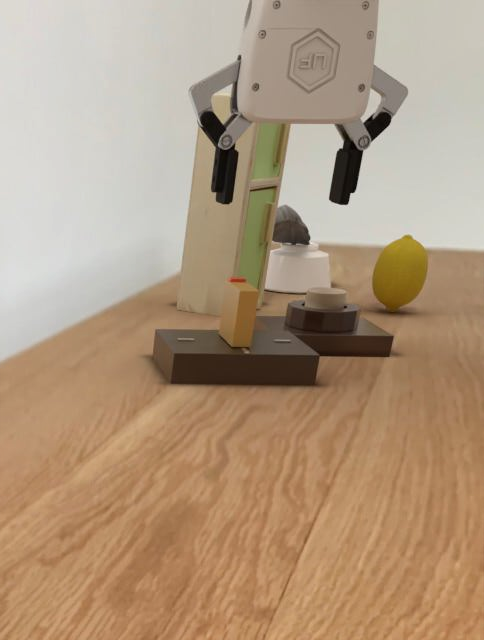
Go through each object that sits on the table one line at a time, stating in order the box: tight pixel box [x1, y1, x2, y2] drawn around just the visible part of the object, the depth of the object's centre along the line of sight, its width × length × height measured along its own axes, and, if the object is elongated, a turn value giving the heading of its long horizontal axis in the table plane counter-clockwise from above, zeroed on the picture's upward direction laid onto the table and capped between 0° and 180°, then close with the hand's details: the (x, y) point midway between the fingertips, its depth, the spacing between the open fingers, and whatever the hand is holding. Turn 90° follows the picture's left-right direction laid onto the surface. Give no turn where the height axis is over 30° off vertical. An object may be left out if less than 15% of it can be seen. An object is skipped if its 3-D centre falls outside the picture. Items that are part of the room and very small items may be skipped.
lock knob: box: [218, 277, 259, 348], centre depth 94 cm, size 6×2×5 cm, turn 179°
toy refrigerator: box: [176, 92, 292, 318], centre depth 119 cm, size 8×7×21 cm
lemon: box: [371, 234, 429, 313], centre depth 122 cm, size 6×6×8 cm
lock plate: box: [151, 328, 321, 387], centre depth 96 cm, size 12×10×3 cm
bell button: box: [304, 287, 348, 310], centre depth 105 cm, size 4×4×2 cm
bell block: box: [253, 298, 395, 358], centre depth 106 cm, size 11×9×4 cm
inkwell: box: [264, 204, 332, 294], centre depth 132 cm, size 9×18×10 cm, turn 150°
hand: (280, 203), depth 93 cm, fingers open, 9 cm apart
